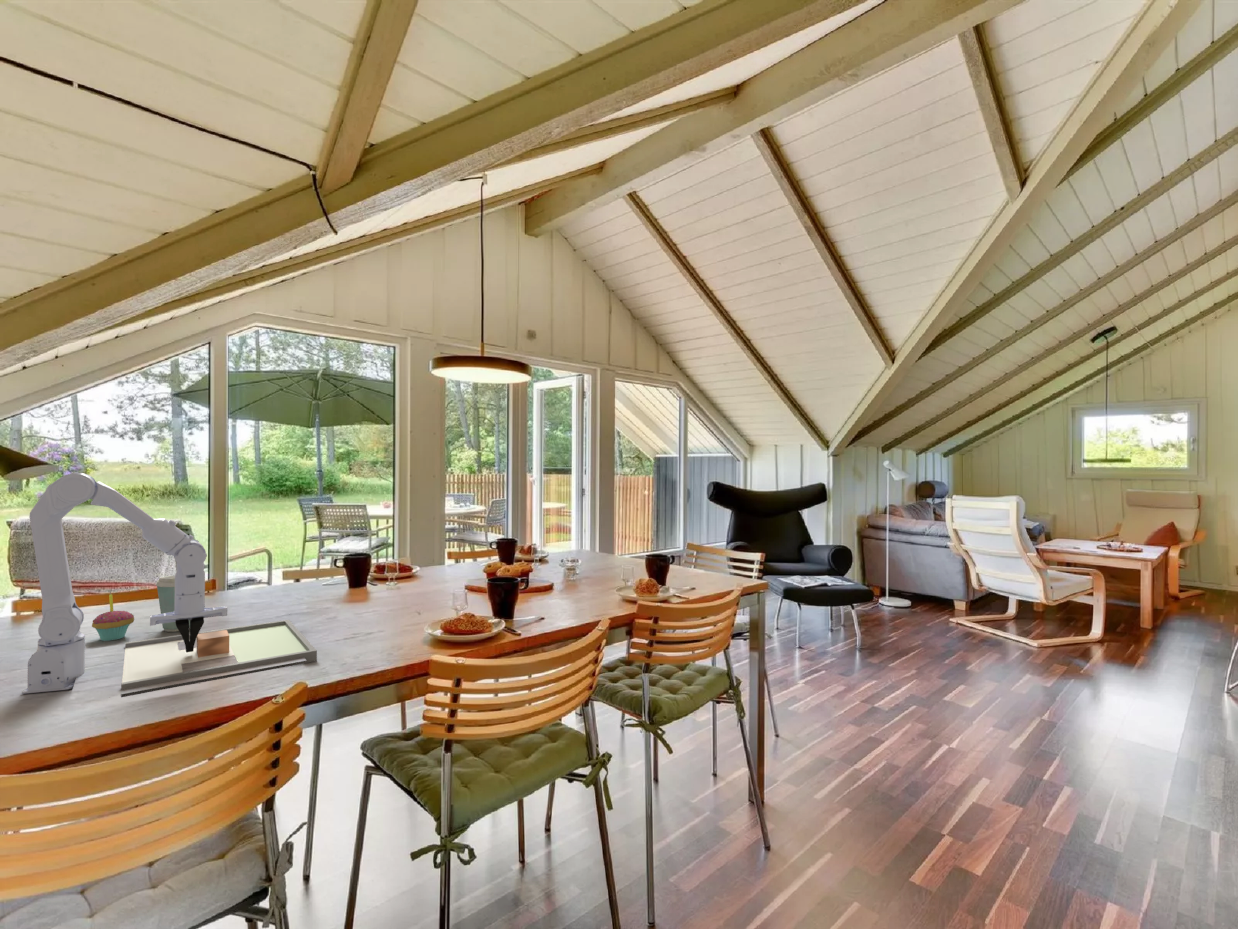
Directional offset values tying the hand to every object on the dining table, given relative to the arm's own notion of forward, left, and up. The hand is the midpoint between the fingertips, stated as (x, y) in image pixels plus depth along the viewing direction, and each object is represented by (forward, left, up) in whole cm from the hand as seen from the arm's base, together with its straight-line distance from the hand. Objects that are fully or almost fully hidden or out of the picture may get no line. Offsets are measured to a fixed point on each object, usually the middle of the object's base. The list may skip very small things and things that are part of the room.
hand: (189, 650), depth 137 cm
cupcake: (+28, +26, -3) cm, 38 cm away
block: (+2, -4, -1) cm, 5 cm away
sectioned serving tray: (+2, -5, -2) cm, 6 cm away
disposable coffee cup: (+33, +13, -3) cm, 35 cm away
